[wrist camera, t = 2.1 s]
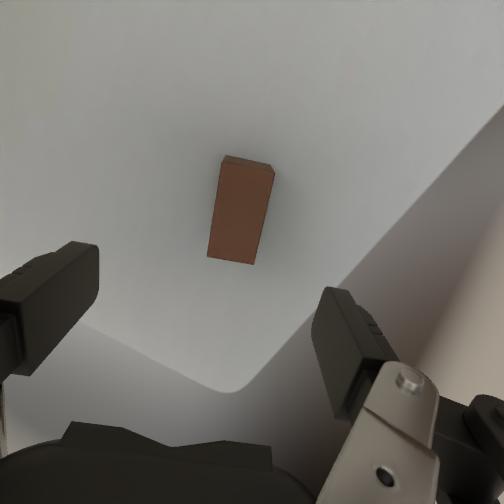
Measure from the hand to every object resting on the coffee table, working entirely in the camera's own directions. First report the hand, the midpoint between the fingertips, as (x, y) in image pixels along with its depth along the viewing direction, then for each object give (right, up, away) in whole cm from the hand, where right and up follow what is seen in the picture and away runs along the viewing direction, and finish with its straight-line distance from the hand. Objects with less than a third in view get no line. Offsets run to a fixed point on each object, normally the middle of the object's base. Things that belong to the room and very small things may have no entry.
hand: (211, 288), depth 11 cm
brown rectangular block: (+1, +5, +14) cm, 15 cm away
